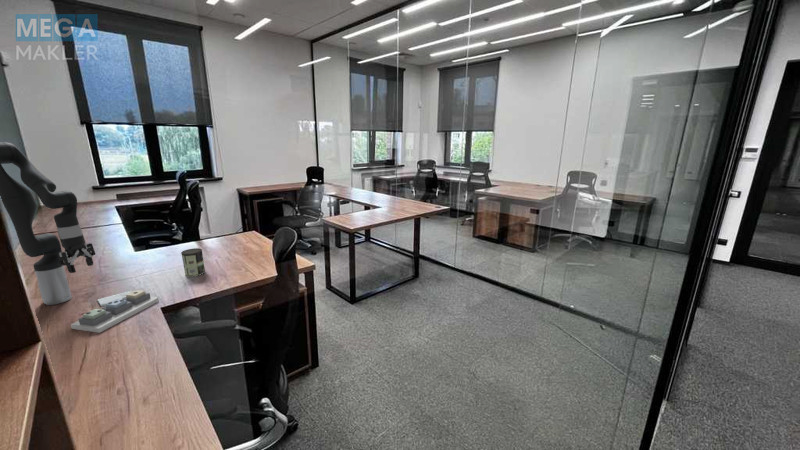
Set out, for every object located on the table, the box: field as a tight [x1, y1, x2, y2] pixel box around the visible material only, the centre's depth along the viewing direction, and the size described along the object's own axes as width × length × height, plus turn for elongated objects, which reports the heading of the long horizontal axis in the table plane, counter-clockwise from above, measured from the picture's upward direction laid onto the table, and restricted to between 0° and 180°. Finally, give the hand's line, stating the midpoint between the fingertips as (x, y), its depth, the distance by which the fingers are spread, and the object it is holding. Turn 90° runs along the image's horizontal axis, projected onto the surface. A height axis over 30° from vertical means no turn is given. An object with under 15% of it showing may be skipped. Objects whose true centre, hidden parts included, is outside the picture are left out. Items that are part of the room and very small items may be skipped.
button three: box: [106, 299, 127, 309], centre depth 143 cm, size 5×5×3 cm
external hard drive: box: [97, 290, 132, 308], centre depth 157 cm, size 2×8×12 cm
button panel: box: [70, 292, 160, 334], centre depth 144 cm, size 14×27×4 cm, turn 170°
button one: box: [126, 289, 147, 299], centre depth 152 cm, size 5×5×3 cm
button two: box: [82, 308, 106, 320], centre depth 134 cm, size 5×5×3 cm
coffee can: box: [180, 247, 206, 278], centre depth 187 cm, size 10×10×14 cm
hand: (81, 269), depth 148 cm, fingers open, 8 cm apart
